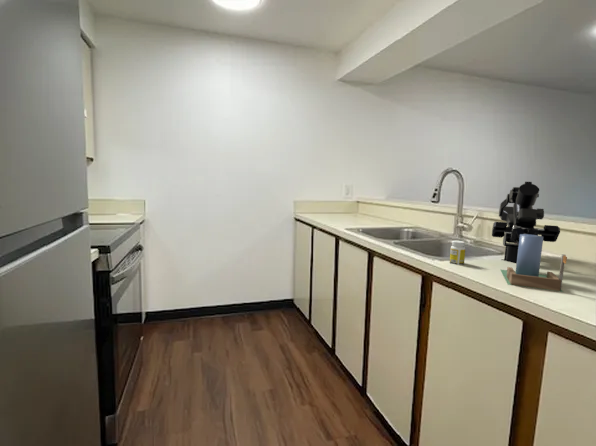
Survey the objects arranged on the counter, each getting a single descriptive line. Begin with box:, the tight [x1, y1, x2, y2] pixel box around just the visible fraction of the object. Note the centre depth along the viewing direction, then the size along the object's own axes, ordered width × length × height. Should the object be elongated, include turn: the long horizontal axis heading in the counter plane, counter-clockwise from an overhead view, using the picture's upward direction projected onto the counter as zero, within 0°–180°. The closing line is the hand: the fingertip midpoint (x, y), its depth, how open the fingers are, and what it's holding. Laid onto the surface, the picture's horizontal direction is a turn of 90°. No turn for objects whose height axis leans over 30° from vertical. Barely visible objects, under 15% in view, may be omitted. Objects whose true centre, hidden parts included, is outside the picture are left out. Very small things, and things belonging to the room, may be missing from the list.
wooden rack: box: [506, 254, 568, 292], centre depth 99 cm, size 12×12×10 cm
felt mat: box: [500, 269, 564, 293], centre depth 104 cm, size 19×13×1 cm
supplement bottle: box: [449, 240, 466, 266], centre depth 123 cm, size 5×5×8 cm
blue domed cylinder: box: [515, 234, 544, 277], centre depth 106 cm, size 6×6×13 cm
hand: (525, 251), depth 112 cm, fingers closed
